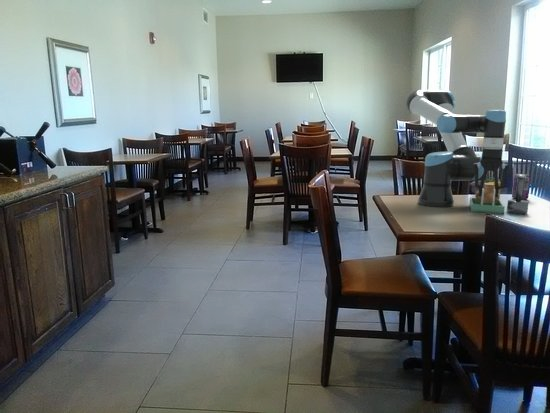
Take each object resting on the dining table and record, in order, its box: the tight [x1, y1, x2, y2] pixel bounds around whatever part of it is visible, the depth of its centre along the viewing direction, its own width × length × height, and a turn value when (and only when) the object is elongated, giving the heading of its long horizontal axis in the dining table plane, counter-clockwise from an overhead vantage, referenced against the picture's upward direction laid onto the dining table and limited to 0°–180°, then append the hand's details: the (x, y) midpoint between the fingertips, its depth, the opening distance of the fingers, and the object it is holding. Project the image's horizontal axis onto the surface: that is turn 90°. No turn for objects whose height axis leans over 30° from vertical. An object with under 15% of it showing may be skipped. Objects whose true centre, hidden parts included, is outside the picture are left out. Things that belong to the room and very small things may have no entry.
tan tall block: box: [474, 182, 499, 203], centre depth 196 cm, size 8×13×8 cm, turn 160°
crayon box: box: [484, 177, 502, 200], centre depth 212 cm, size 7×3×12 cm, turn 114°
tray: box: [468, 197, 506, 215], centre depth 198 cm, size 12×17×3 cm
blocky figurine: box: [506, 175, 529, 216], centre depth 189 cm, size 8×8×16 cm
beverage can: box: [511, 173, 531, 201], centre depth 223 cm, size 7×7×12 cm
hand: (487, 204), depth 193 cm, fingers closed on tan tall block, 3 cm apart
